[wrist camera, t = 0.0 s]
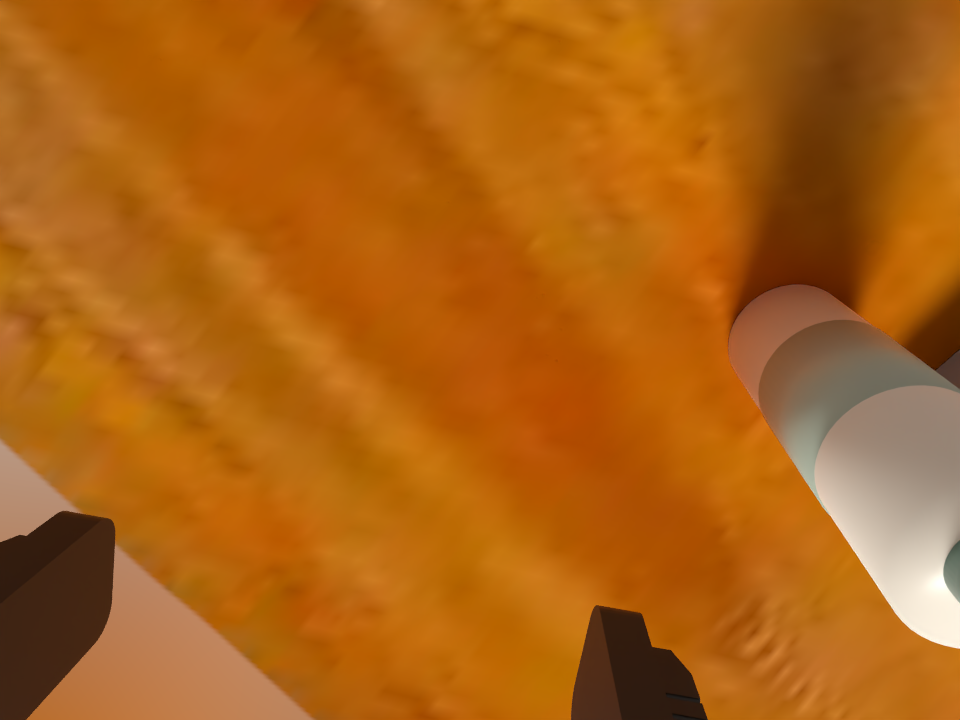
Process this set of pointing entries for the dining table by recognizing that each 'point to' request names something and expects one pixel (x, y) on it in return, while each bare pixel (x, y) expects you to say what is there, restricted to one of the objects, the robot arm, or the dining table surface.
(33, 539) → the robot arm
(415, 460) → the dining table surface
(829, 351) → the bottle
